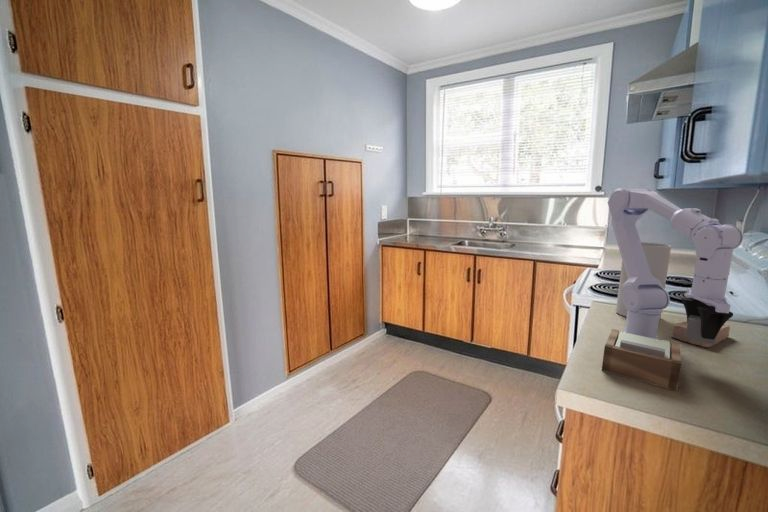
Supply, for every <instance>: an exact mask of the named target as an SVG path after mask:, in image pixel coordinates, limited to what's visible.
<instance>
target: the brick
mask: <svg viewBox="0 0 768 512" xmlns="http://www.w3.org/2000/svg"><path fill="white" fill-rule="evenodd" d="M687 324H688V323H687V321H682V322H677V323H673V325H672V333H671V336H672V337H673V338H674V339H677V340H679V341H681V342H682V341H683V342H685V343H689V344H691V345H694V346H695V345H697V346H701V347H702V348H712V347H713V346H715V345H718V343H720V342H722V341H724V340H726V339H727V338H728V337H729V336H730V330H731V329H730V328H731V325H730V324H728V323H727V322H725V323H724V325H723V326H722V327H721V329H720V331H719V332H718V334H717V336H716V338H715V343H714V345H713V344H708V343H704V342H699V341H695V340H690V339H686V338H685V336H686V330H687Z"/></svg>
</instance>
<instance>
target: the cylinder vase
mask: <svg viewBox="0 0 768 512" xmlns="http://www.w3.org/2000/svg"><path fill="white" fill-rule="evenodd" d="M641 244H642V247H643V250H644V253H645V256H646V260H647V263H648V266H649V269H650V272H651V275H652V276H653V277H655V278H656V279H658V280H659V281H661V283H662V286H663V288H664V289H665V290H666V282H667V277H668V276H667V275H668V269H669V263H670V258H671V257H670V256H671V249H672V245H670V244H667V243H666V244H665V243H658V242H657V243H656V242H644V241H641ZM620 268H621V269H620V276H619V284H618V292H617V300H616V307H615V311H616V313H617V314H618V315H621V316H622V317H625V318H627V312H628V309H626V306H625V305H624V303H623V300H622V295H623V290H622V287H621V286H622V285H623V284H624V283H625V282H626V281H627V280H628V277H627V273H626V270H625V267H624V263H623V260H622V259H621V266H620ZM661 317H662V313H660V318H659V320H660V319H661Z"/></svg>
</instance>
